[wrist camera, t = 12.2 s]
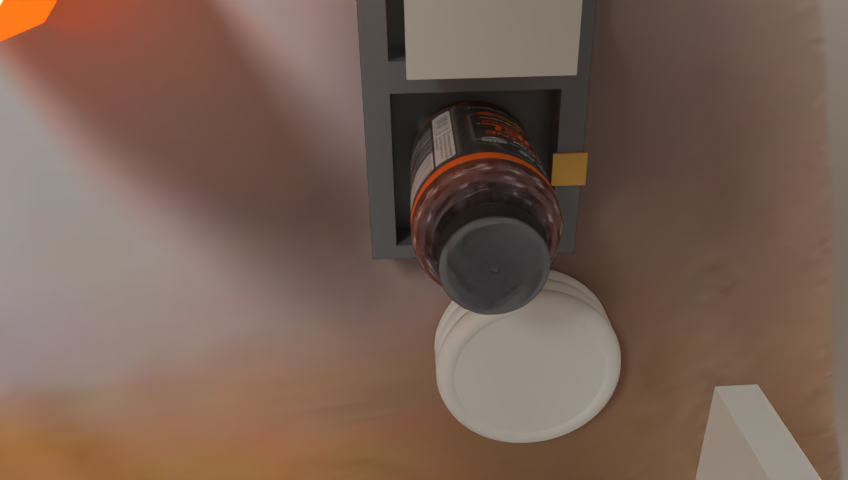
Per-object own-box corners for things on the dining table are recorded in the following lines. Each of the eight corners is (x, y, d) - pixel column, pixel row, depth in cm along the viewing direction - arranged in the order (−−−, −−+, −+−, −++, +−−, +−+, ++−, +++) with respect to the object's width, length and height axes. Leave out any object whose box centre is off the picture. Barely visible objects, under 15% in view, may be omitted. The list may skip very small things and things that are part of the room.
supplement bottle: (554, 134, 35) (617, 244, 25) (487, 229, 37) (519, 365, 27) (450, 72, 33) (471, 162, 23) (387, 175, 35) (380, 297, 25)
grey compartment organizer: (350, -156, 29) (332, -164, 22) (600, -162, 29) (668, -172, 22) (374, 236, 37) (367, 329, 30) (568, 230, 37) (609, 321, 30)
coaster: (603, 400, 43) (618, 442, 40) (438, 411, 43) (441, 454, 40) (612, 256, 39) (630, 290, 35) (428, 269, 39) (430, 304, 36)
